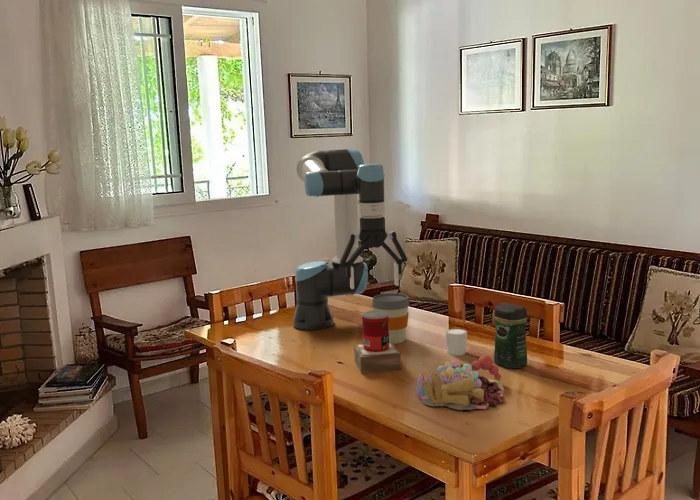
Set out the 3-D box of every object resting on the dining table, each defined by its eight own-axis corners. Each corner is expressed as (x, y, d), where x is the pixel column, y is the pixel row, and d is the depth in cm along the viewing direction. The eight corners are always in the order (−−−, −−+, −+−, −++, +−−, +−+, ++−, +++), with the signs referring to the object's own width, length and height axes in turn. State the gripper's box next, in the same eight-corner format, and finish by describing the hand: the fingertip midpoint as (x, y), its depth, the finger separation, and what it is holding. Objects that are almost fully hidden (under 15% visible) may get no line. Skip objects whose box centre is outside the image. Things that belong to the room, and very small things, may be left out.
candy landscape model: (507, 415, 171) (508, 379, 169) (413, 412, 175) (412, 377, 173) (502, 379, 195) (502, 348, 194) (419, 377, 199) (418, 347, 198)
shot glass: (469, 350, 221) (469, 329, 220) (464, 357, 215) (464, 335, 213) (449, 348, 224) (449, 327, 222) (443, 354, 217) (442, 333, 216)
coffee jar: (531, 365, 205) (532, 305, 201) (513, 371, 200) (513, 309, 197) (507, 357, 212) (507, 299, 209) (489, 363, 208) (489, 303, 205)
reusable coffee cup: (391, 347, 226) (390, 303, 224) (365, 340, 236) (364, 297, 233) (417, 339, 234) (416, 296, 232) (391, 332, 244) (390, 291, 241)
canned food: (387, 352, 205) (386, 317, 203) (361, 351, 206) (360, 316, 204) (391, 344, 212) (390, 310, 210) (365, 344, 214) (364, 310, 212)
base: (354, 360, 215) (353, 344, 214) (391, 357, 217) (391, 341, 216) (361, 373, 203) (360, 356, 202) (400, 369, 205) (400, 352, 204)
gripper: (332, 220, 197) (335, 292, 201) (416, 215, 201) (417, 286, 204) (328, 217, 204) (331, 286, 208) (410, 212, 208) (411, 281, 212)
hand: (374, 286), depth 206 cm, fingers open, 13 cm apart
